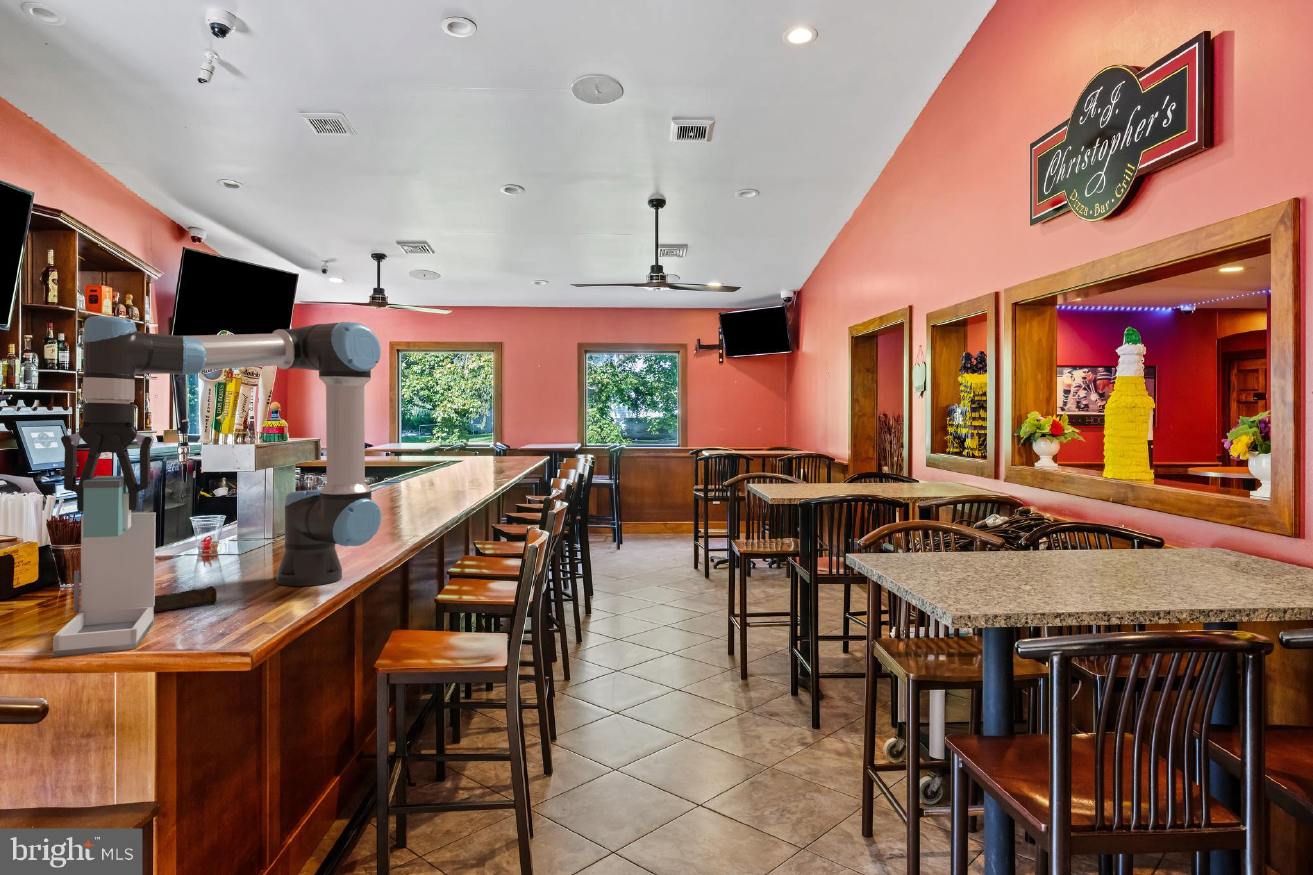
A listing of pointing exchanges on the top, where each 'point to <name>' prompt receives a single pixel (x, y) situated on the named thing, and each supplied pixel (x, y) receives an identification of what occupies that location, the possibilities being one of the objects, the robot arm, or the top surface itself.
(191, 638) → the top surface
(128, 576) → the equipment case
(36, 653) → the top surface
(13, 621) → the top surface
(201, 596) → the hand tool
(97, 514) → the block
